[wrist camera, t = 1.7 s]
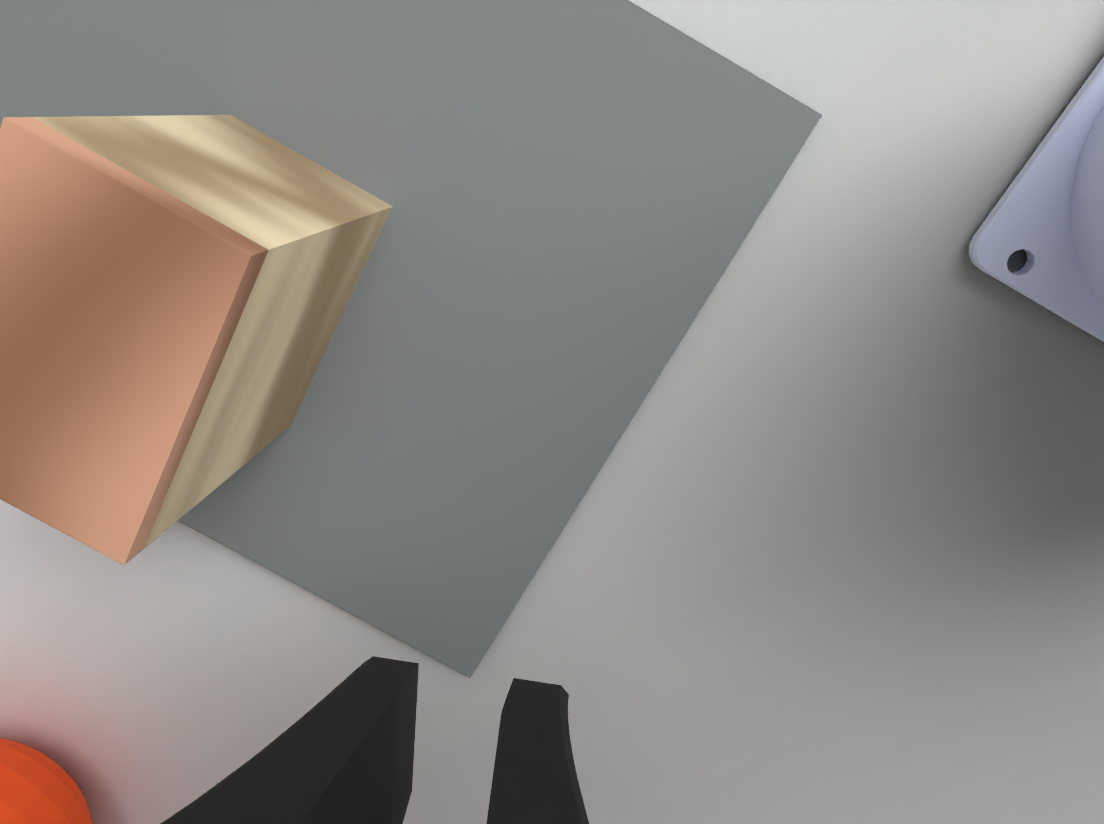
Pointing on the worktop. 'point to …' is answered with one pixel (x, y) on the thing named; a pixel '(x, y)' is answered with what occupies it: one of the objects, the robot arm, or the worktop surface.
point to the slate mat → (450, 259)
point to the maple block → (159, 310)
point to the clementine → (37, 789)
